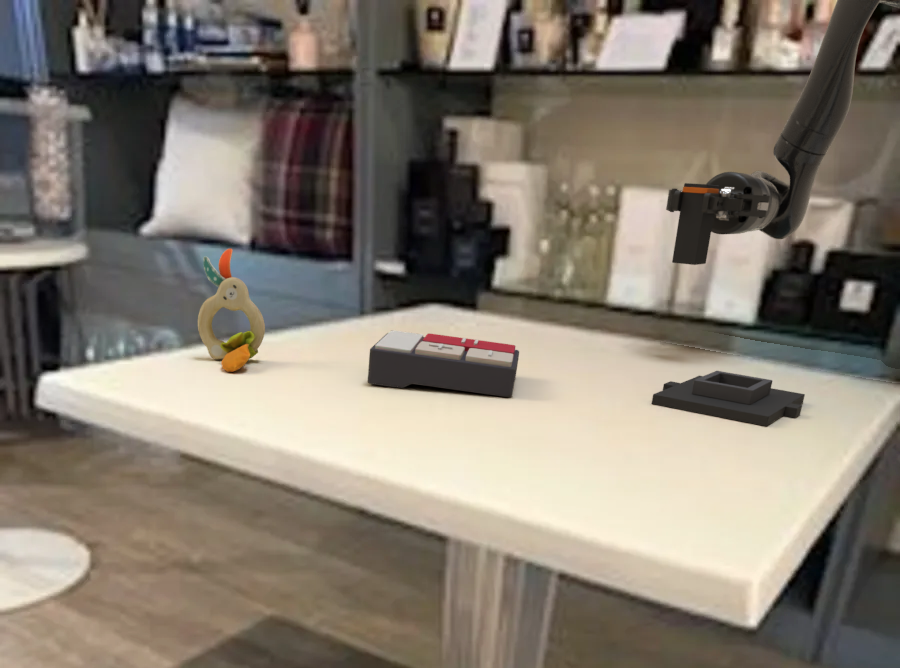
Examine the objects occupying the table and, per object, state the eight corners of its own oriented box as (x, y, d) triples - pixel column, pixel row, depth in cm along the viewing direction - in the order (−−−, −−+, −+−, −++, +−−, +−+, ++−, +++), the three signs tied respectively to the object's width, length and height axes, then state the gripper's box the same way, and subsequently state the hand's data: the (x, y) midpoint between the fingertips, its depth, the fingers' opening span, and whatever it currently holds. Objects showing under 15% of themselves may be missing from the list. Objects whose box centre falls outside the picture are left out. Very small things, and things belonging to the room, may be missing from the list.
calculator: (516, 361, 87) (369, 341, 88) (510, 403, 89) (366, 383, 90) (520, 342, 97) (388, 324, 98) (515, 381, 99) (385, 363, 100)
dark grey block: (683, 261, 112) (695, 184, 108) (706, 263, 111) (719, 185, 107) (671, 262, 109) (683, 183, 105) (695, 265, 108) (708, 184, 104)
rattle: (175, 366, 92) (166, 250, 87) (212, 353, 100) (205, 245, 95) (240, 374, 91) (235, 256, 86) (273, 360, 98) (270, 251, 93)
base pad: (687, 382, 102) (691, 360, 101) (814, 405, 95) (819, 382, 94) (640, 401, 91) (644, 377, 90) (779, 429, 85) (785, 403, 83)
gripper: (690, 170, 120) (640, 164, 107) (794, 175, 113) (755, 170, 100) (680, 229, 123) (631, 230, 110) (781, 238, 116) (742, 240, 103)
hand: (691, 201), depth 105 cm, fingers closed on dark grey block, 3 cm apart
